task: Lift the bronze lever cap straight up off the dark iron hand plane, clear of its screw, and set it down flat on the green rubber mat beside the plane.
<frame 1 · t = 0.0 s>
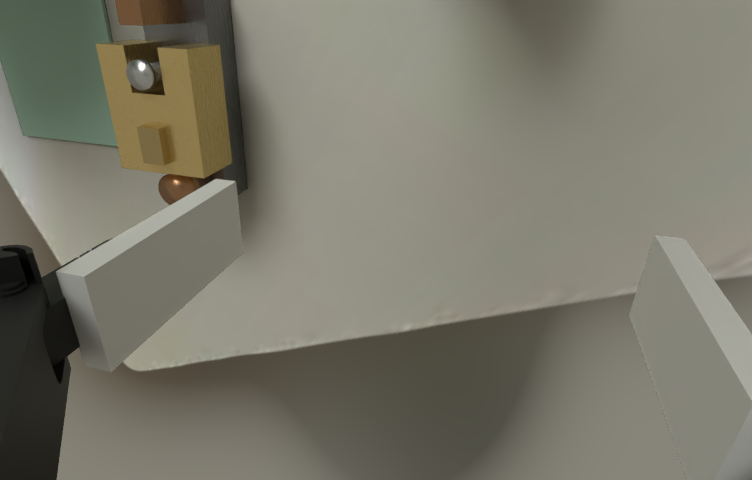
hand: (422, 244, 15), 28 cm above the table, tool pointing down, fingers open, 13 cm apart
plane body: (210, 95, 46), on the table
lever cap: (185, 103, 43), point 4 cm above the table, touching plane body
mat: (61, 73, 49), on the table
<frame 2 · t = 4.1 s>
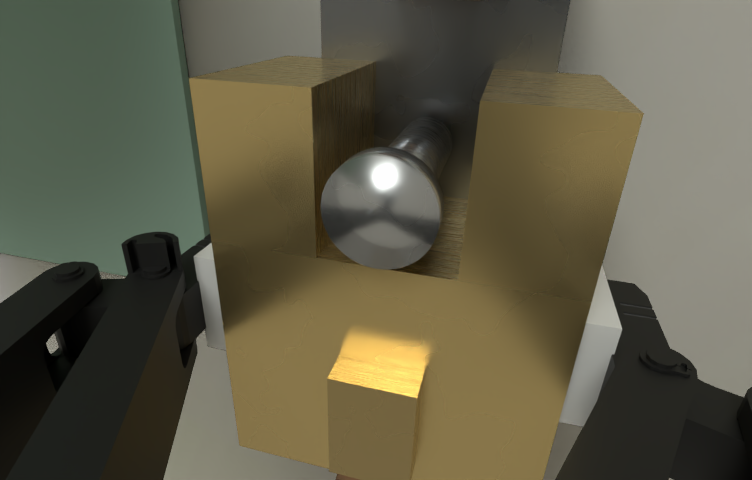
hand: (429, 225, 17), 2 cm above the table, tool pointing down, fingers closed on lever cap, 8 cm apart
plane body: (438, 195, 18), on the table
lever cap: (419, 240, 14), point 4 cm above the table, touching gripper, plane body
mat: (56, 126, 21), on the table
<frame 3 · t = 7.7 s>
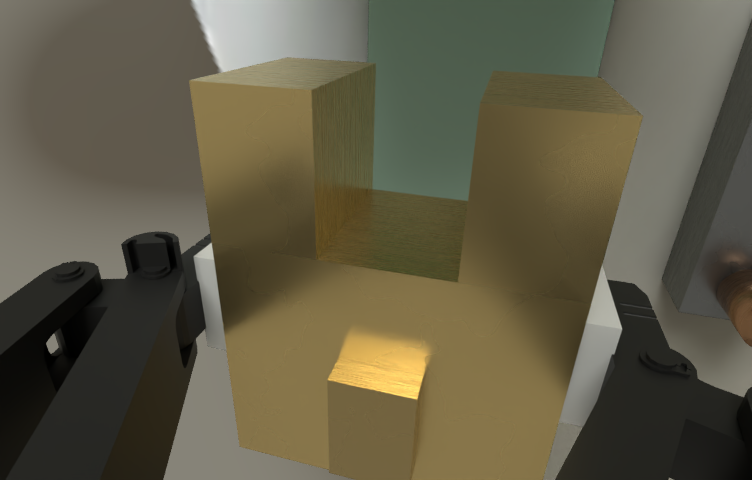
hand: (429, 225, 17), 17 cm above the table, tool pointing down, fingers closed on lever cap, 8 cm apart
lever cap: (419, 242, 15), point 19 cm above the table, touching gripper
mat: (471, 112, 31), on the table
when the fingers open (2 cm above the table, at t = 11.3 s): lever cap drops 4 cm, resting on mat.
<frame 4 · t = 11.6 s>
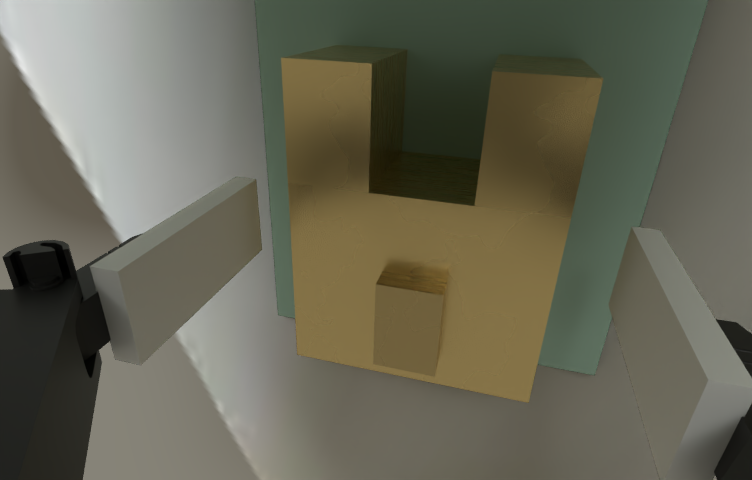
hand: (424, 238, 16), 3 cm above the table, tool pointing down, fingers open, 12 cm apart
lever cap: (439, 194, 18), resting on mat
mat: (440, 190, 18), on the table
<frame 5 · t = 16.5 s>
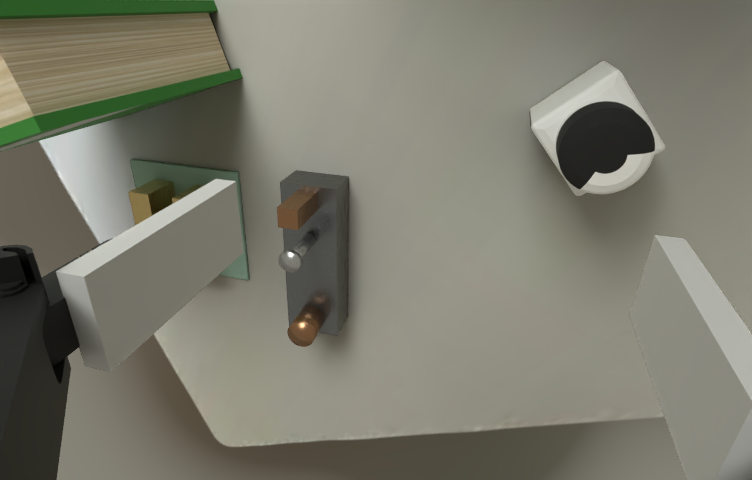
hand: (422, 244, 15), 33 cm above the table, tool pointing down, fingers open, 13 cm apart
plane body: (323, 247, 56), on the table
lever cap: (190, 221, 59), resting on mat
mat: (192, 220, 59), on the table
medicine bottle: (585, 118, 43), on the table
hardback book: (161, 64, 51), on the table
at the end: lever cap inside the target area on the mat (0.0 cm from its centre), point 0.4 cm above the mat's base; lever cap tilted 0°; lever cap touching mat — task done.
